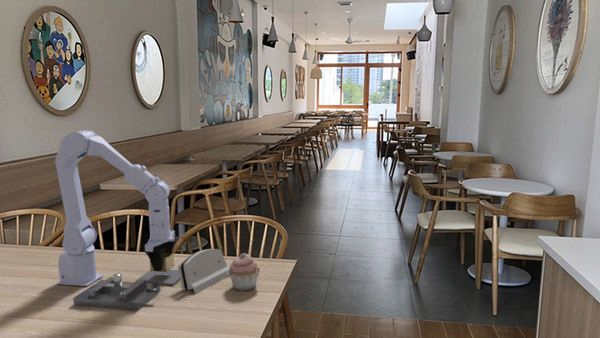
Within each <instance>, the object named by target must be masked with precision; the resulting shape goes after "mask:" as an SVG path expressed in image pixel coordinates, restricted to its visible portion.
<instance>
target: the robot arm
mask: <svg viewBox="0 0 600 338" xmlns="http://www.w3.org/2000/svg"><path fill="white" fill-rule="evenodd" d="M59 145H60V146H59V149H58V152H57V154H56V157H55V160H54V162H55V167H56V172H57V178H58V185H59V189H60V190H59V191H60V195H61V198H62V199H61V200H62V205H63V210H64V215H65V220H66V222H65V226H64V228H63V236H64V237H63V239H62V248H63V249H64V251H63V252H62V253H60V254H59V257H58V264H57V265H58V275H59V276H58V277H59V281H58V282H57V284H58V285H63V286H64V285H65V286H66V285H67V286H80V287H88V286H89V285H92V284H94V282H96V281H98V280H99V279H100V278H103V277H104V274H101V273H97V262H96V252H95V251H96V249H95V246H94V243H95V242H96V240H97V237H98V236H97V235H98V234H97V231H96V230H95V227H93V225H92V221H91V220H90V218H89V217H88V216H87V212H86V211H87V210H86V205H85V201H84V200H85V199H84V196H83V190H82V189H83V188H82V184H81V179H80V174H79V168H78V164H79V162H80V161H81V160H82V159H83V158H84V157H85V156H93V157H101V158H102V159H103V160H105V161H107V162H108V163H109V164H111V165H112V167H115V168H116V169H118V171H120V172H122V173H123V174H124V180H125V181H127V182H128V183H129V184H130V185H132V187H134V188H136V189H137V190H138V191H139V192H140V193H142V194H144V197H145V199H146V201H147V203H148V220H149V239H148V241H147V243H146V244H144V253H145V254H146V256H147V257H148V259H149V262H150V261H151V264H152V267H153V270H154V271H161V270H162V259H163V254H164V253H173V251H174V248H175V246H176V244H177V239H175V237H176V233H175V232H176V231H175V230H171V221H170V220H171V219H170V206H169V203H170V202H169V198H168V197H169V196H170V193H171V189H170V186H169V185H168V184H167V181H164V180H160V178H159V177H158V176H157V177H156V176H155V175H153V174H152V173H150V172H149V171H148V170H147V167H146V166H145V165H140V164H138V163H137V164H133V163H131V162H130V161H129V160H128V159H126V158H125V157H124V156H123V155H122V154H121V153H119V151H117V150H116V149H115V148H114V147H113V146H112V145H110V144H109V143H108V142H107V141H106V140H105V139H104V138H103V137H101V136H100V135H97V134H96V132H95V131H93V130H90V129H84V130H83V129H82V130H79V131H71V132H69V133H67V134H66V135H65V136H64V137H63V138H62V139H61V140H60V144H59Z"/></svg>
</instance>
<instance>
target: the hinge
mask: <svg viewBox="0 0 600 338" xmlns="http://www.w3.org/2000/svg"><path fill="white" fill-rule="evenodd" d="M228 269H230V266H228V264H227V261H226V260H225V257H224V255H223V252H222V250H221V249H219V248H208V249H204V250H203V249H202V250H199V251H196V252H194V253H192V254H190V255H189V256H187V257H186V258H185V259H183V260H182V261H181V262H180V264H179V265H178V267H177V270H179V275H180V281H179V282H180V285H181V290H182V291H186V290H193V293H194V294H198V293H200V292H202V291H203V290H206V289H208V288H209V287H212V286H213V285H215V284H217V283H218V282H220V281H222V280H224V279H227V278H228V277H230V276H229V274H228V273H227V272H228V271H229V270H228Z"/></svg>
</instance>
